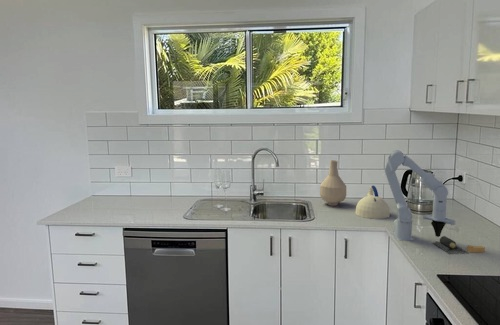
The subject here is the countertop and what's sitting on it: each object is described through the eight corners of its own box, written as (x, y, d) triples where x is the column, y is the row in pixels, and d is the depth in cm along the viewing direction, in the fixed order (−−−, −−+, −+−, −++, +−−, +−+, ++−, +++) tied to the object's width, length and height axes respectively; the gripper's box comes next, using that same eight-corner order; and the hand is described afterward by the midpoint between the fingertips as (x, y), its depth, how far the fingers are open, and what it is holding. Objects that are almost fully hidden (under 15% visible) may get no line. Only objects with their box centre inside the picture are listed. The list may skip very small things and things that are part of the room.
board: (430, 243, 182) (430, 240, 182) (449, 242, 183) (449, 239, 183) (461, 262, 159) (461, 259, 159) (482, 261, 160) (483, 258, 160)
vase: (336, 209, 245) (337, 163, 241) (314, 204, 258) (315, 160, 254) (351, 204, 257) (352, 160, 253) (329, 200, 270) (330, 158, 266)
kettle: (384, 210, 243) (386, 182, 240) (393, 219, 222) (395, 189, 220) (352, 209, 245) (353, 182, 242) (358, 218, 224) (359, 188, 222)
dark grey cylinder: (439, 244, 180) (439, 236, 179) (447, 244, 180) (447, 236, 179) (448, 250, 172) (449, 241, 172) (457, 249, 173) (457, 241, 172)
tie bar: (466, 250, 171) (467, 245, 171) (481, 250, 172) (481, 244, 171) (469, 252, 169) (470, 246, 169) (484, 251, 170) (485, 246, 169)
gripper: (420, 207, 185) (419, 234, 187) (451, 213, 174) (450, 241, 176) (427, 205, 190) (425, 231, 192) (457, 210, 179) (456, 238, 181)
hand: (437, 236), depth 184 cm, fingers closed
